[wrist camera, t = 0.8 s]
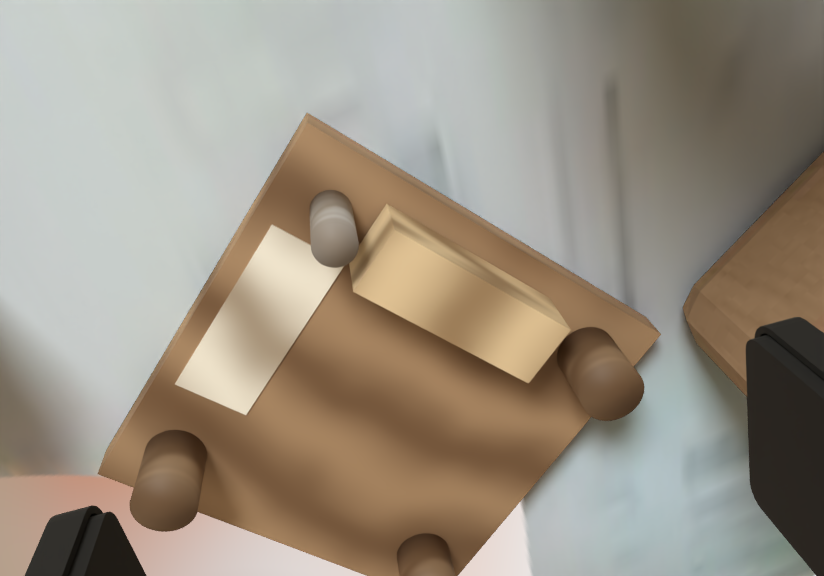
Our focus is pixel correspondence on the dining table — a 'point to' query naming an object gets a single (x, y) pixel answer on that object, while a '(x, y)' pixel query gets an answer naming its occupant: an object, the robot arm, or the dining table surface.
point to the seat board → (360, 383)
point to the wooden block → (764, 277)
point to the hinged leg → (456, 295)
